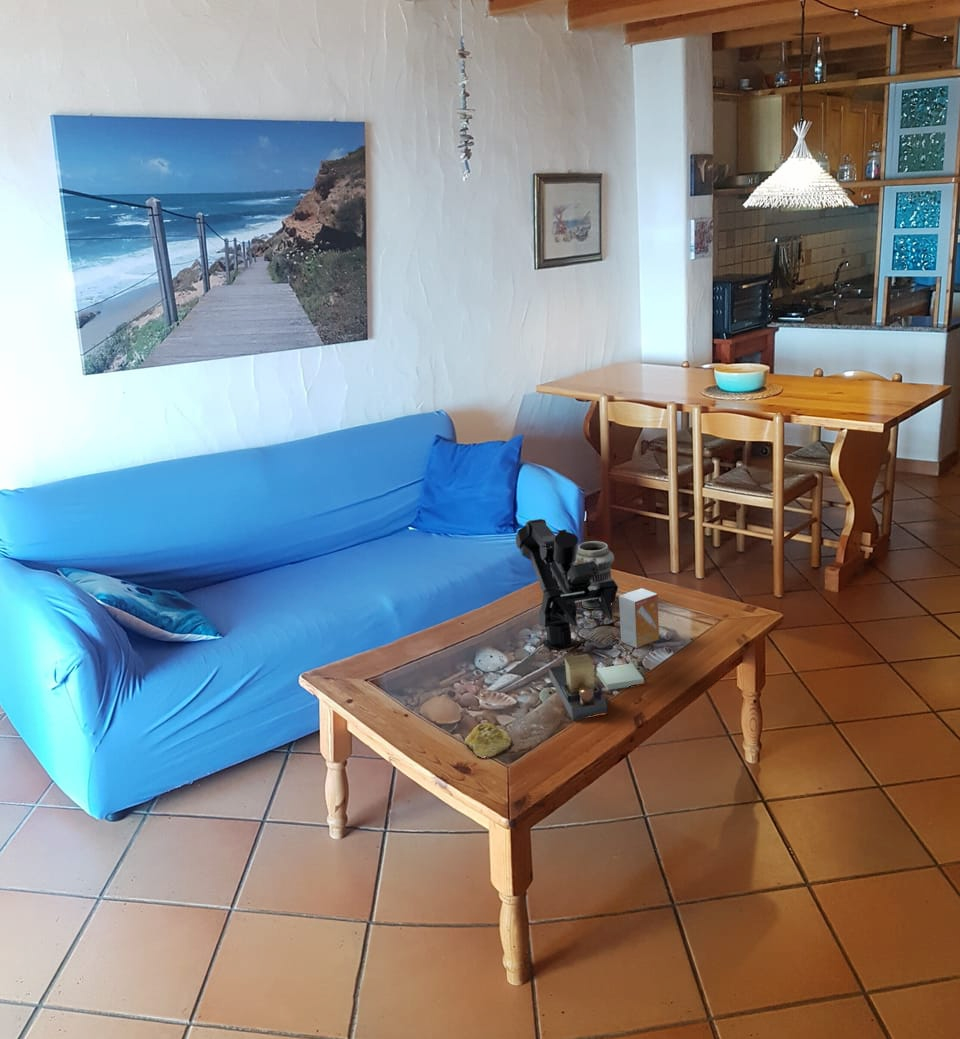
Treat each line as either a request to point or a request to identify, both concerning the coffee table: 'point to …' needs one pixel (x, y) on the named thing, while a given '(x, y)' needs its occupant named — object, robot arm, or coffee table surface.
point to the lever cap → (579, 673)
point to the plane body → (577, 696)
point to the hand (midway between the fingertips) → (593, 621)
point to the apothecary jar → (603, 561)
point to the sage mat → (619, 676)
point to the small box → (639, 617)
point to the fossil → (488, 740)
